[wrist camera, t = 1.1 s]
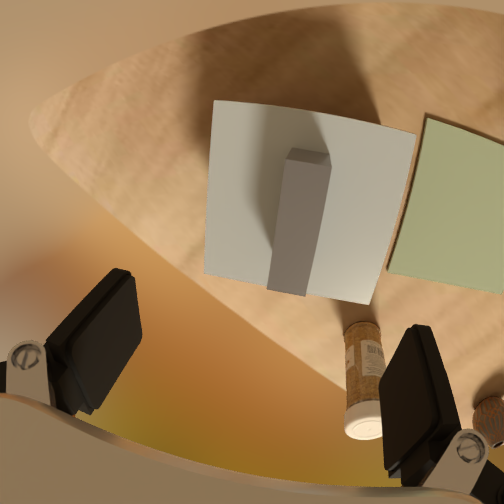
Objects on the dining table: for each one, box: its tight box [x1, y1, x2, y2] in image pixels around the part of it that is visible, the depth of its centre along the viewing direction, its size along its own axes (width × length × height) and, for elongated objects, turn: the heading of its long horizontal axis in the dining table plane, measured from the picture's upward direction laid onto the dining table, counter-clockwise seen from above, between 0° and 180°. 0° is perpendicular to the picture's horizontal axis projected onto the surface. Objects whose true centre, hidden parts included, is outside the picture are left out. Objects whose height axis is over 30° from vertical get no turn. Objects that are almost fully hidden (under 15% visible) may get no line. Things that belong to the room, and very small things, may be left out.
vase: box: [472, 397, 504, 449], centre depth 34 cm, size 7×7×9 cm
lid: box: [204, 100, 416, 305], centre depth 21 cm, size 13×13×6 cm
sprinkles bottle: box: [344, 322, 386, 440], centre depth 30 cm, size 5×5×13 cm
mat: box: [387, 118, 504, 295], centre depth 27 cm, size 16×16×1 cm
